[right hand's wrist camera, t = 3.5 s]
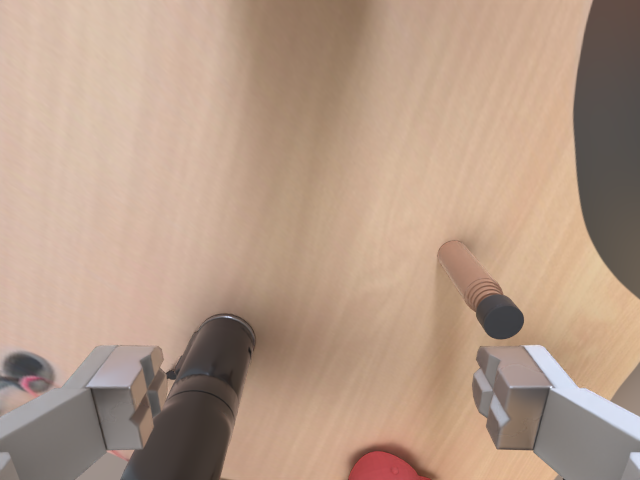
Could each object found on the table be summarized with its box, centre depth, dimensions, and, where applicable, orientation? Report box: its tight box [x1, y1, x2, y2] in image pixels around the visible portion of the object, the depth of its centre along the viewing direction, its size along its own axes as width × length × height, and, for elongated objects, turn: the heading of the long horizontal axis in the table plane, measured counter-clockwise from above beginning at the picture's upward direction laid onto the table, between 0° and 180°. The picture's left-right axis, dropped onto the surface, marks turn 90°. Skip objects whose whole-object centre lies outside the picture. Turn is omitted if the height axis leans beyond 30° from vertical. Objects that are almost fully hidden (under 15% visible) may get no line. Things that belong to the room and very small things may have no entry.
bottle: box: [438, 241, 503, 312], centre depth 53 cm, size 4×4×18 cm
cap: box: [476, 294, 524, 339], centre depth 46 cm, size 4×4×3 cm
